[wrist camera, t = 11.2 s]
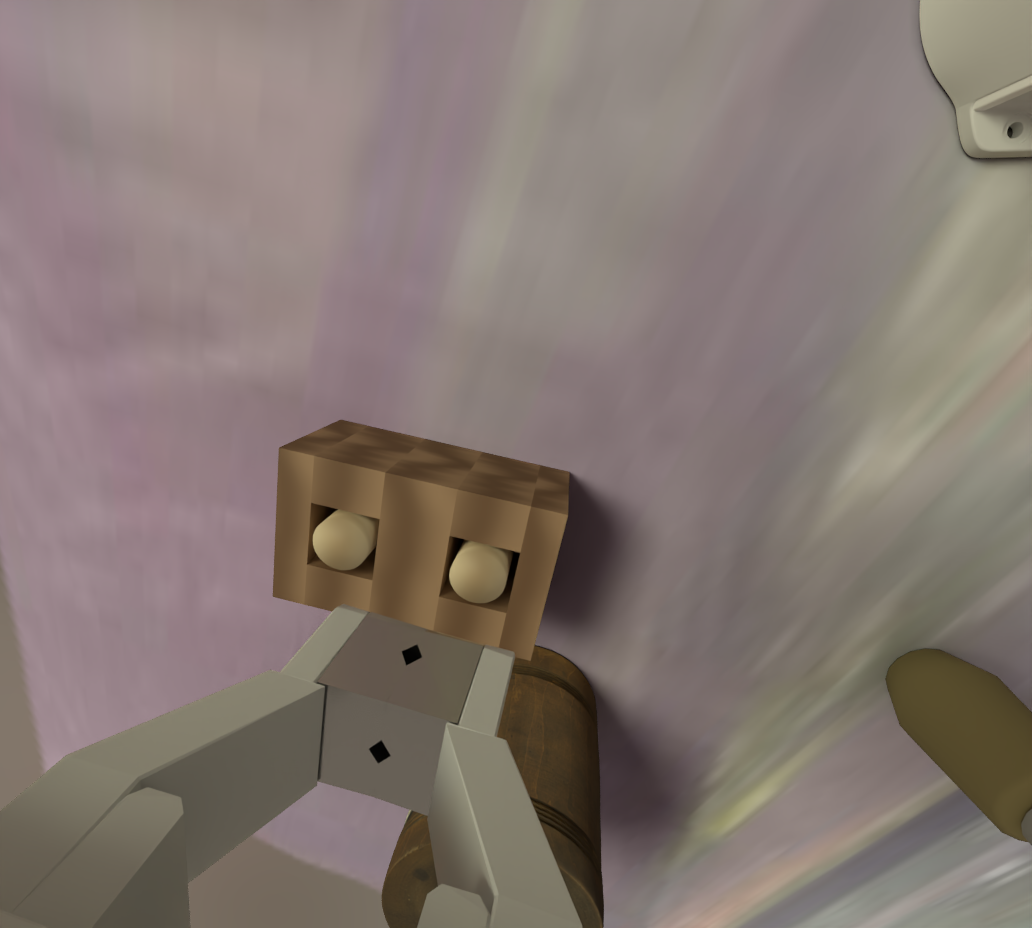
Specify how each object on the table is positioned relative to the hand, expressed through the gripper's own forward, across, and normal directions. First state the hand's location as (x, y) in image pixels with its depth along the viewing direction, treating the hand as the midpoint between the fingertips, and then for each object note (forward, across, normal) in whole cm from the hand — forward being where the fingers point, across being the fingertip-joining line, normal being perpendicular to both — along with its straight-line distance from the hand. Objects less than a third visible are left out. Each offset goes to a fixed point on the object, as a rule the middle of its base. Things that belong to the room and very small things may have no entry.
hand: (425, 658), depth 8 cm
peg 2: (+30, +2, +13) cm, 33 cm away
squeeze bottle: (+33, -36, +18) cm, 52 cm away
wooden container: (+31, -4, +32) cm, 45 cm away
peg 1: (+29, +12, +13) cm, 35 cm away
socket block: (+31, +8, +13) cm, 35 cm away
